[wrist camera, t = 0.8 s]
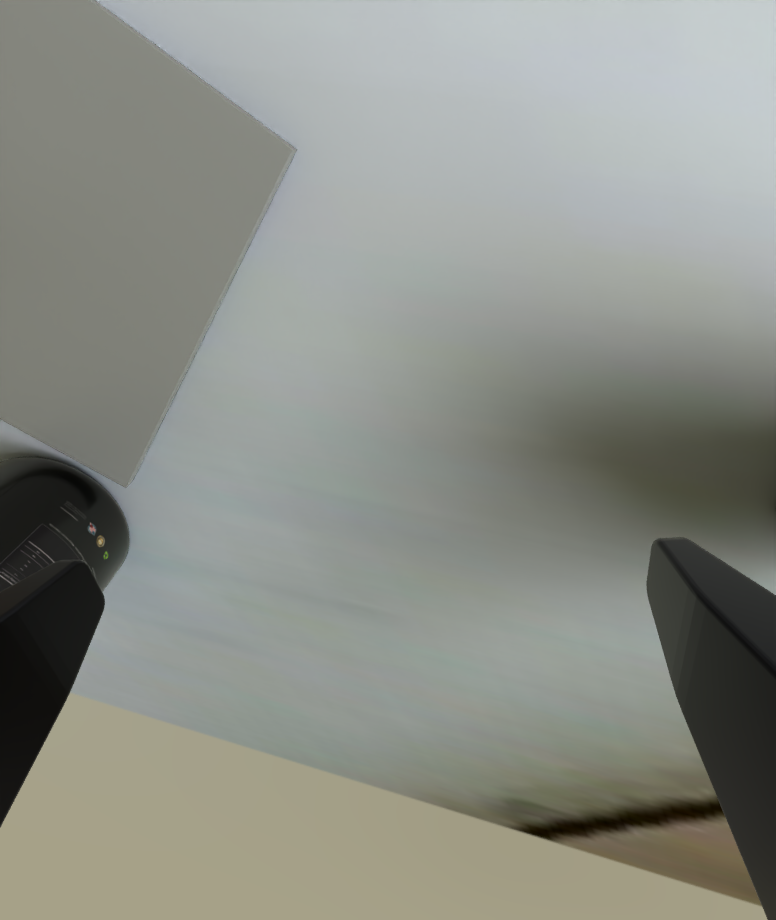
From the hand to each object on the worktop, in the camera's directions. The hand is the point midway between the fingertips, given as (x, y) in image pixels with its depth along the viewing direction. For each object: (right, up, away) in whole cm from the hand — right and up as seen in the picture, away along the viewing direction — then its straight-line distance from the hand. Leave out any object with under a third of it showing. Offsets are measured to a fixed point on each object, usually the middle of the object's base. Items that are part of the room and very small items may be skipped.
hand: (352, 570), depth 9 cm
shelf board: (-11, +9, +10) cm, 17 cm away
